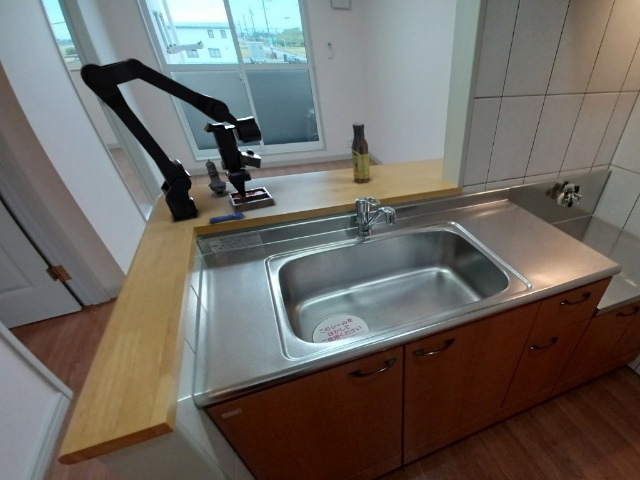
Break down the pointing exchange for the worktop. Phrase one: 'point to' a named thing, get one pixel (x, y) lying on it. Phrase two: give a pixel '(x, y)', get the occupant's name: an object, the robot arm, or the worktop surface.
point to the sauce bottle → (360, 154)
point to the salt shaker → (216, 181)
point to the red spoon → (249, 194)
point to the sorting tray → (251, 200)
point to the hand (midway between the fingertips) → (243, 196)
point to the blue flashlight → (227, 217)
